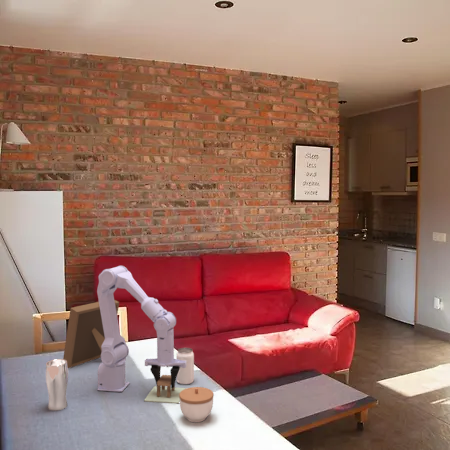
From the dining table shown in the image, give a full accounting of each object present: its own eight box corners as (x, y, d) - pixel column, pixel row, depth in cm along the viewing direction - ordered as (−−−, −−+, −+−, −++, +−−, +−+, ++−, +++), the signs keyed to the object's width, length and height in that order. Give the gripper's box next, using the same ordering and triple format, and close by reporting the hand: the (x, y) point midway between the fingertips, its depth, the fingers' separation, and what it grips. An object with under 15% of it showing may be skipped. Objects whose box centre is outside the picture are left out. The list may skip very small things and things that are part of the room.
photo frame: (62, 365, 193) (61, 305, 191) (104, 351, 211) (104, 296, 209) (85, 374, 184) (85, 311, 183) (127, 358, 202) (127, 301, 200)
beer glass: (47, 413, 151) (46, 367, 150) (45, 404, 157) (44, 360, 156) (70, 408, 154) (69, 364, 153) (67, 400, 160) (66, 357, 159)
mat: (144, 401, 160) (144, 400, 159) (154, 387, 171) (154, 386, 171) (178, 403, 158) (178, 402, 158) (186, 389, 170) (186, 388, 170)
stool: (162, 388, 169) (162, 374, 169) (174, 389, 168) (175, 375, 168) (156, 396, 162) (157, 382, 162) (169, 397, 161) (170, 383, 161)
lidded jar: (200, 429, 140) (200, 398, 140) (172, 420, 146) (172, 390, 146) (219, 415, 150) (220, 386, 149) (192, 407, 155) (192, 379, 155)
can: (191, 385, 173) (191, 353, 172) (174, 384, 174) (174, 352, 174) (195, 378, 179) (195, 347, 179) (179, 377, 181) (179, 346, 180)
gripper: (141, 351, 161) (142, 389, 161) (183, 353, 159) (183, 392, 159) (148, 344, 168) (148, 381, 168) (187, 346, 166) (187, 384, 166)
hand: (165, 386), depth 164 cm, fingers closed on stool, 5 cm apart
